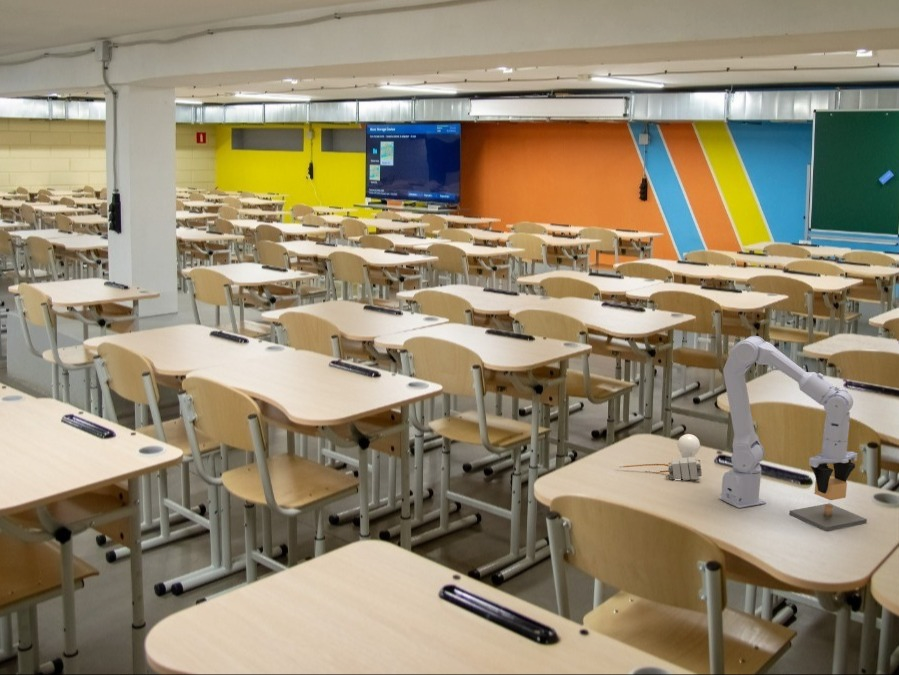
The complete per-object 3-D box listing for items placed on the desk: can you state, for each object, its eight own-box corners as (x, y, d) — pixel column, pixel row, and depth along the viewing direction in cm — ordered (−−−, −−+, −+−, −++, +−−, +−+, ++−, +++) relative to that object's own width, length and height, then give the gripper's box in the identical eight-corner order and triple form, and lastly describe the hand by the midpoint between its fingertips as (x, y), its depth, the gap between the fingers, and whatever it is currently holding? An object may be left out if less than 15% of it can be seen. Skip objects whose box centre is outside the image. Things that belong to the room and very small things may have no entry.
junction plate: (825, 531, 228) (827, 517, 227) (789, 514, 239) (790, 501, 238) (866, 522, 234) (867, 509, 233) (829, 506, 245) (830, 494, 244)
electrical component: (617, 486, 267) (614, 469, 266) (618, 479, 273) (615, 463, 272) (702, 479, 261) (700, 461, 260) (701, 472, 266) (699, 455, 266)
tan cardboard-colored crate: (830, 500, 232) (831, 485, 231) (814, 493, 236) (815, 478, 236) (845, 497, 234) (847, 482, 233) (829, 491, 239) (830, 476, 238)
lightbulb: (700, 474, 269) (703, 437, 266) (678, 473, 269) (681, 437, 267) (695, 467, 275) (697, 431, 273) (673, 466, 275) (676, 431, 273)
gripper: (826, 446, 226) (821, 499, 228) (869, 440, 232) (863, 491, 234) (804, 438, 232) (799, 490, 235) (846, 432, 238) (841, 482, 241)
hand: (830, 490), depth 235 cm, fingers closed on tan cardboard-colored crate, 5 cm apart
